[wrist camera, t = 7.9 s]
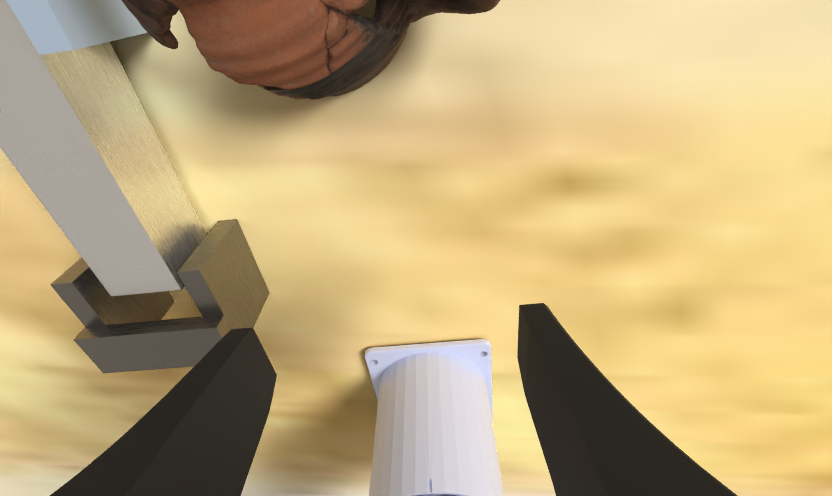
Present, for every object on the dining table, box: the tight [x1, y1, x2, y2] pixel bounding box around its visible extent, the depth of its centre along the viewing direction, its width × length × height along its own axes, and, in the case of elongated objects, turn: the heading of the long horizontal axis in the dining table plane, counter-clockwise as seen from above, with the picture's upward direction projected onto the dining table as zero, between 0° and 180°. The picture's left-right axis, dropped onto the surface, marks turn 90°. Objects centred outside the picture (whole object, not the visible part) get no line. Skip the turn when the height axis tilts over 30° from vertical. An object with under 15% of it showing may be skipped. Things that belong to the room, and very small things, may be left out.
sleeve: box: [50, 219, 269, 373], centre depth 20 cm, size 5×7×5 cm
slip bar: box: [0, 0, 207, 296], centre depth 16 cm, size 12×3×3 cm, turn 7°
